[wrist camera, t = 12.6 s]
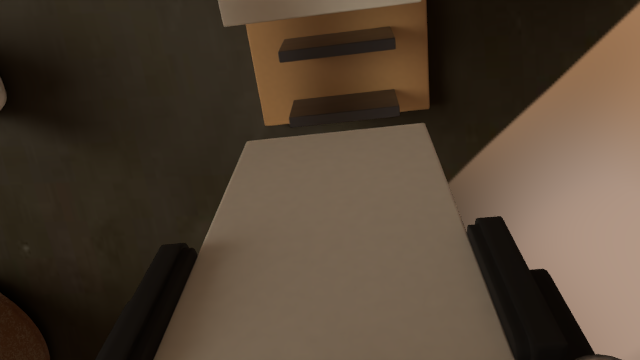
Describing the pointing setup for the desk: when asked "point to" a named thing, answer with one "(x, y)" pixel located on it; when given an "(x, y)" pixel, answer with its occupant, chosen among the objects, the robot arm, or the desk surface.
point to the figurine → (2, 94)
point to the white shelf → (335, 57)
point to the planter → (19, 334)
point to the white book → (337, 258)
